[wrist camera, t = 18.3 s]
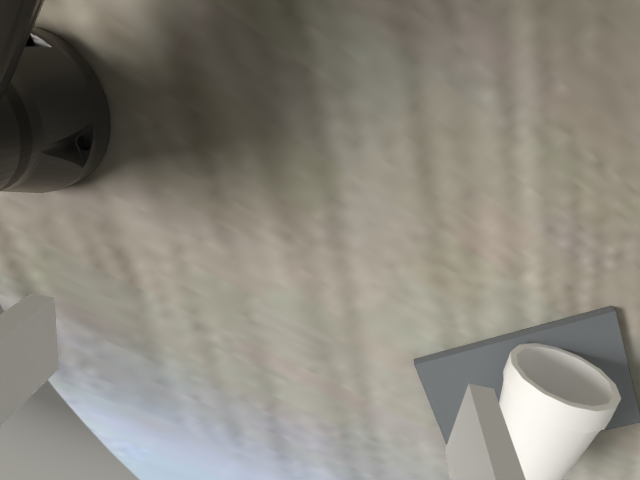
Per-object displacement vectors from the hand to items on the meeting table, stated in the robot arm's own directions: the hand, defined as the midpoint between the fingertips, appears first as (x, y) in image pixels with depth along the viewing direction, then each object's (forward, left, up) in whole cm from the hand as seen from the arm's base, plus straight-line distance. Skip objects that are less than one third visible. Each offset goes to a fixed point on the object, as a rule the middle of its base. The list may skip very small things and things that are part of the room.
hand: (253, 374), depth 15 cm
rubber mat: (+10, -30, -32) cm, 45 cm away
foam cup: (+6, -36, -26) cm, 45 cm away
